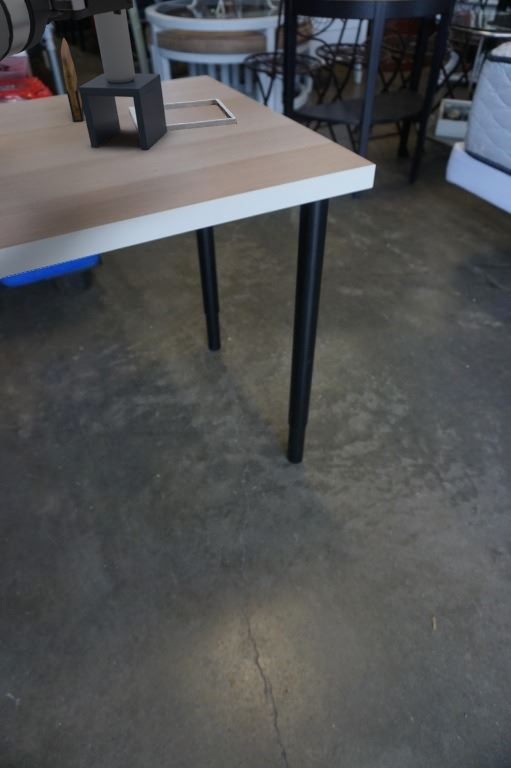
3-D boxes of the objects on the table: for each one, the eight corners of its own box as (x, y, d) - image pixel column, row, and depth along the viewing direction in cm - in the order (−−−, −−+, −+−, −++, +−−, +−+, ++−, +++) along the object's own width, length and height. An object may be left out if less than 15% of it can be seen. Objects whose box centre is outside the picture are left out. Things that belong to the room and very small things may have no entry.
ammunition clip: (74, 107, 108) (58, 37, 100) (83, 106, 108) (68, 36, 100) (73, 121, 100) (56, 47, 92) (83, 121, 100) (67, 46, 92)
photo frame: (128, 106, 104) (218, 97, 107) (129, 112, 105) (218, 103, 108) (137, 127, 93) (236, 117, 97) (138, 134, 94) (236, 124, 98)
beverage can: (135, 76, 88) (122, -15, 80) (135, 82, 84) (121, -12, 76) (106, 77, 87) (89, -14, 79) (105, 84, 84) (87, -10, 76)
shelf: (91, 147, 89) (78, 87, 83) (114, 129, 96) (104, 72, 90) (147, 149, 87) (138, 88, 81) (167, 131, 95) (160, 73, 89)
